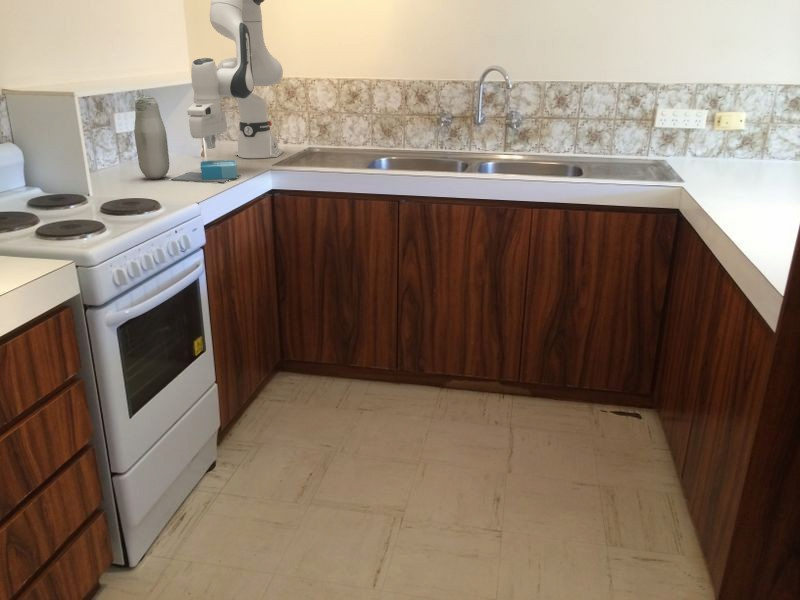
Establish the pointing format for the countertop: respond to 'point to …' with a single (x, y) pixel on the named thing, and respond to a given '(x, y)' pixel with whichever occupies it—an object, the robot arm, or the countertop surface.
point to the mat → (197, 178)
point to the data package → (218, 169)
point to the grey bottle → (150, 138)
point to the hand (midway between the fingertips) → (211, 148)
